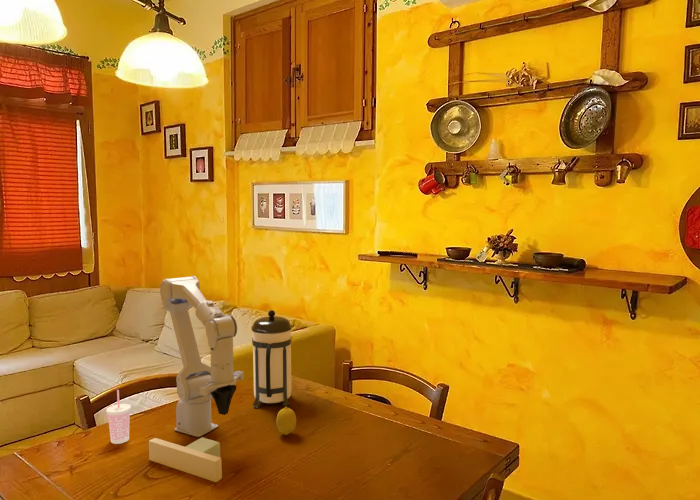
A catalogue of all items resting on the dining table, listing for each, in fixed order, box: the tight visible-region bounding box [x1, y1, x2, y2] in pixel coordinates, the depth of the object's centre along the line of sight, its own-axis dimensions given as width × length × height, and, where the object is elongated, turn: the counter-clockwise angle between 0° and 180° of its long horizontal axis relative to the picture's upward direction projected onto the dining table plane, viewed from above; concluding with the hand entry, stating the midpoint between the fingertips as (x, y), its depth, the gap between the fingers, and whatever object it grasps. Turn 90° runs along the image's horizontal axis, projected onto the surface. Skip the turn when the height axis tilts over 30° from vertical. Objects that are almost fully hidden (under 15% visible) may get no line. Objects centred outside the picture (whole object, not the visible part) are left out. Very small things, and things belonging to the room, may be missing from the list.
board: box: [148, 437, 223, 483], centre depth 129 cm, size 22×2×5 cm, turn 62°
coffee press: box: [251, 309, 293, 409], centre depth 169 cm, size 17×16×30 cm
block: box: [184, 436, 221, 458], centre depth 132 cm, size 6×7×4 cm
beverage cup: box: [106, 389, 132, 445], centre depth 144 cm, size 6×6×14 cm
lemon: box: [275, 407, 297, 436], centre depth 147 cm, size 6×6×8 cm
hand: (223, 413), depth 139 cm, fingers closed
